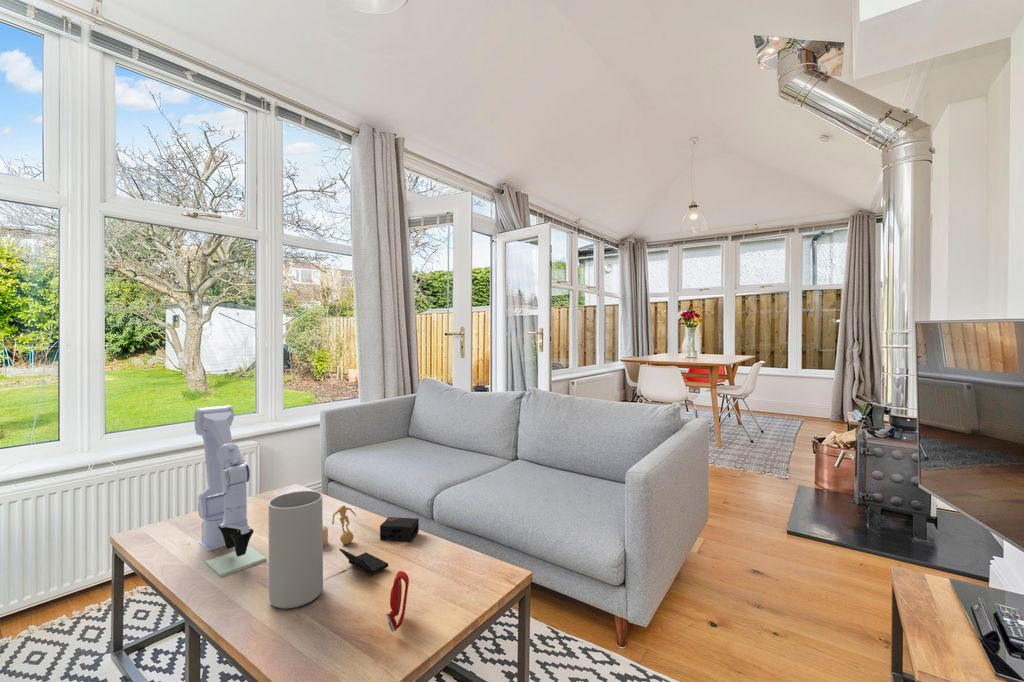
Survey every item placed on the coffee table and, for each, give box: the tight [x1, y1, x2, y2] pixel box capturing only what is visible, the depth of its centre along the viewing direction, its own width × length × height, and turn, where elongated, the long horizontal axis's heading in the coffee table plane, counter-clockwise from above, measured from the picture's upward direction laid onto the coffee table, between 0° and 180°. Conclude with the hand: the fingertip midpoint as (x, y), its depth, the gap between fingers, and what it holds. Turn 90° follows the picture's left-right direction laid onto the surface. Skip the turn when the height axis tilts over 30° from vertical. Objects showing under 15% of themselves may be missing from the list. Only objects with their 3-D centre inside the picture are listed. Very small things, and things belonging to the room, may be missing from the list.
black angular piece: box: [338, 548, 389, 576], centre depth 128 cm, size 12×7×10 cm
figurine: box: [331, 505, 357, 545], centre depth 144 cm, size 8×6×12 cm
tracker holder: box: [385, 570, 410, 633], centre depth 105 cm, size 12×4×10 cm, turn 5°
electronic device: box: [379, 516, 420, 543], centre depth 149 cm, size 7×11×5 cm
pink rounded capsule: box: [323, 525, 329, 548], centre depth 142 cm, size 5×5×5 cm
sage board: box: [204, 545, 267, 578], centre depth 131 cm, size 12×12×1 cm
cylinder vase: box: [268, 490, 324, 610], centre depth 115 cm, size 12×12×25 cm
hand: (235, 551), depth 131 cm, fingers open, 7 cm apart
